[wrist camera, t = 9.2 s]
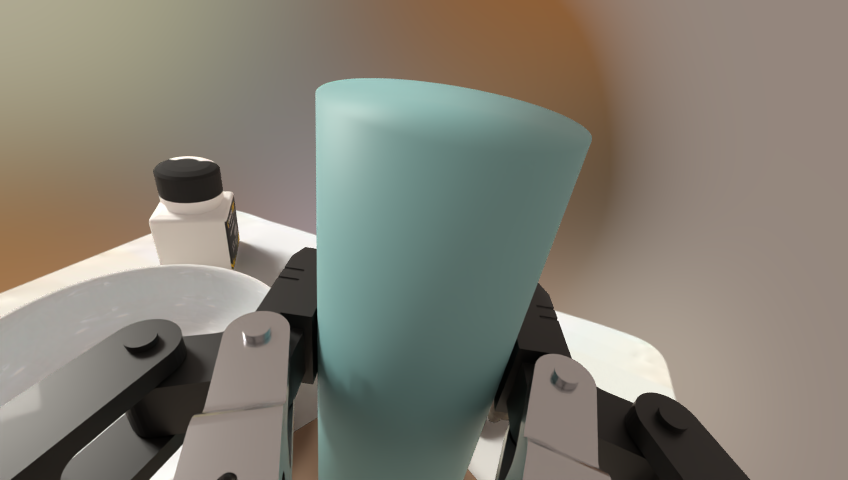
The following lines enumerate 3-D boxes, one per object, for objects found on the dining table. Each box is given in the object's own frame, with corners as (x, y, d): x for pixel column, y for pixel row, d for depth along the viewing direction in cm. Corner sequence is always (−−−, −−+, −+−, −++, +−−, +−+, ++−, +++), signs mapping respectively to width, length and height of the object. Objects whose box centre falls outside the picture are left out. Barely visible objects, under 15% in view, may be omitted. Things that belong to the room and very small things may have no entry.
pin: (367, 626, 11) (457, 174, 4) (295, 489, 14) (266, 76, 6) (472, 514, 14) (638, 136, 7) (395, 419, 16) (453, 80, 9)
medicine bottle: (233, 272, 44) (219, 176, 38) (162, 276, 41) (134, 175, 35) (240, 240, 49) (228, 152, 43) (177, 242, 47) (155, 149, 41)
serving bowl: (350, 420, 30) (354, 363, 27) (-38, 725, 16) (-138, 689, 13) (231, 290, 41) (223, 237, 38) (-63, 403, 27) (-122, 336, 23)
